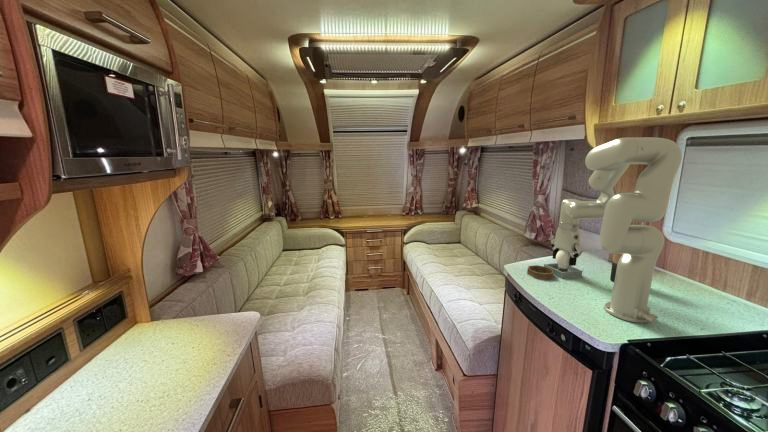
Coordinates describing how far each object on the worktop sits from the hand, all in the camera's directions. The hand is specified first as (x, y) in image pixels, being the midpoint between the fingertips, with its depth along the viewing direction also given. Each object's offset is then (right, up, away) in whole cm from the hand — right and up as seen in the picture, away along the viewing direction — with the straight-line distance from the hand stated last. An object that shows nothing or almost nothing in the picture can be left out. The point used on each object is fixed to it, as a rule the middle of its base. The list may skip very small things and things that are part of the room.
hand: (563, 261), depth 138 cm
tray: (0, -5, +1) cm, 5 cm away
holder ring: (-12, -6, -1) cm, 13 cm away
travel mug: (+20, -8, -9) cm, 23 cm away
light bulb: (0, -5, +1) cm, 5 cm away
